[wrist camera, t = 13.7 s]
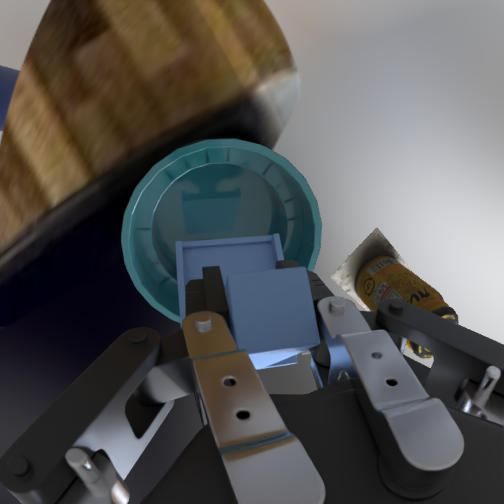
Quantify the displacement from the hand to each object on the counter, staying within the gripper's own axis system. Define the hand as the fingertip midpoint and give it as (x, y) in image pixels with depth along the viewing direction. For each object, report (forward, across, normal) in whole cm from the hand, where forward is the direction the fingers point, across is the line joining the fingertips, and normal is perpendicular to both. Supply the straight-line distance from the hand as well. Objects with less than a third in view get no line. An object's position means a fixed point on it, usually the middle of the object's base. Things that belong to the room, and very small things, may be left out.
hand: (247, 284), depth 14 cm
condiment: (+17, -17, +9) cm, 26 cm away
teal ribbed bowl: (+16, 0, +2) cm, 17 cm away
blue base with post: (+6, 0, +4) cm, 7 cm away
